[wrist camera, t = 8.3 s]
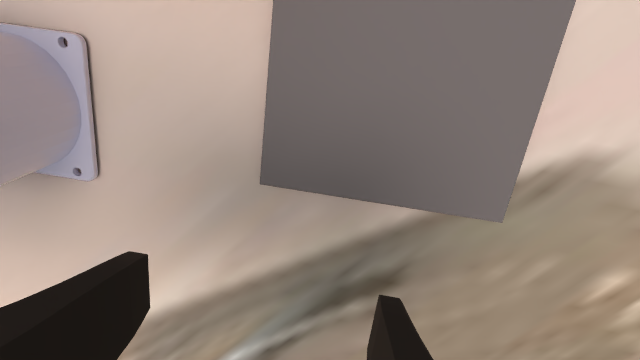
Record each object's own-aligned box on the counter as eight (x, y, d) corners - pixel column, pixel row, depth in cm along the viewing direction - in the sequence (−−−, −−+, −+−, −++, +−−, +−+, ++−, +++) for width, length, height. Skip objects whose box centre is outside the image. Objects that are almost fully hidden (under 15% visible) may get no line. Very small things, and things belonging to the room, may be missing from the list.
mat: (262, 180, 22) (259, 184, 22) (282, -95, 17) (280, -98, 17) (499, 218, 21) (502, 222, 21) (589, -59, 17) (596, -61, 16)
